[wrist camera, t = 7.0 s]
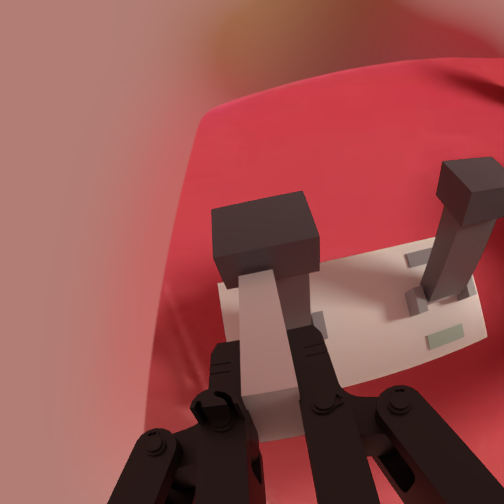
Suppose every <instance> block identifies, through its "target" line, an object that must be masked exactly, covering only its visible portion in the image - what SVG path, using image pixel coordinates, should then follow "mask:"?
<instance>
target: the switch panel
mask: <svg viewBox="0 0 504 504" xmlns="http://www.w3.org/2000/svg"><path fill="white" fill-rule="evenodd" d="M434 240H435V237H433V238H428V239H424V240H420V241H415V242H411V243H407V244H402V245H398V246H394V247H389V248H385V249H380V250H376V251H371V252H367V253H362V254H358V255H353V256H349V257H344V258H339V259H335V260H330V261H325V262H320V271H318V272H313V273H309V282H310V310H311V325H312V324H313V325H314V326H315V327H316V328H317V329H318V330H319V331H321V333H322V336H323V339H324V341H325V344H326V347H327V350H328V353H329V356H330V359H331V361H332V364H333V367H334V370H335V373H336V376H337V379H338V382H339V384H340V386H341V388H344V387H348V386H352V385H356V384H359V383H363V382H367V381H370V380H374V379H377V378H380V377H384V376H387V375H390V374H393V373H397V372H400V371H403V370H406V369H409V368H412V367H415V366H417V365H420V364H423V363H426V362H429V361H431V360H434V359H437V358H439V357H442V356H444V355H447V354H450V353H452V352H454V351H457V350H459V349H462V348H464V347H466V346H469V345H471V344H473V343H476V342H478V341H480V340H482V339H484V338H487V332H486V327H485V322H484V317H483V313H482V308H481V304H480V300H479V296H478V292H477V288H476V285H475V281H474V277H473V274H472V276H471V278H470V280H469V282H468V284H467V286H466V288H465V290H464V291H462V292H459V293H456V294H453V295H450V296H447V297H444V298H441V299H438V300H435V301H432V302H428V300H427V298H426V296H425V294H424V291H423V287H422V285H421V286H420V282H421V279H422V277H423V274H424V271H425V268H426V265H427V262H428V259H429V256H430V253H431V250H432V247H433V244H434ZM217 284H218V290H219V297H220V304H221V311H222V317H223V324H224V330H225V336H226V342H230V341H236V340H240V329H239V289H238V288H233V289H228V290H227V289H226V286H225V284H224V282H221V283H217Z"/></svg>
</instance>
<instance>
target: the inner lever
mask: <svg viewBox="0 0 504 504" xmlns="http://www.w3.org/2000/svg"><path fill="white" fill-rule="evenodd" d="M436 196H437V197H438V198H439V199H440V200H441V202H442V203H443V204H444V208H443V212H442V216H441V220H440V223H439V227H438V230H437V234H436V237H435V240H434V244H433V247H432V250H431V253H430V256H429V259H428V262H427V265H426V268H425V271H424V274H423V277H422V279H421V282H420V286H421V285H422V287H423V291H424V294H425V296H426V298H427V300H428V302H432V301H435V300H438V299H441V298H444V297H447V296H450V295H453V294H456V293H459V292H462V291H464V290H465V288H466V286H467V284H468V282H469V280H470V278H471V276H472V274H473V272H474V270H475V268H476V266H477V264H478V262H479V260H480V258H481V255H482V253H483V251H484V249H485V247H486V244H487V242H488V240H489V237H490V235H491V232H492V230H493V228H494V225H495V222H496V220H497V218H501V217H504V168H503V167H502V166H501V165H500V164H499V163H498V162H497V161H496V160H495V159H494V158H492V157H482V158H470V159H460V160H450V161H442V166H441V172H440V177H439V182H438V187H437V192H436Z"/></svg>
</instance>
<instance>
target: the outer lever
mask: <svg viewBox="0 0 504 504" xmlns="http://www.w3.org/2000/svg"><path fill="white" fill-rule="evenodd" d="M211 214H212V243H213V259H214V261H215V263H216V266H217V268H218V270H219V273H220V275H221V277H222V280H223V282H224V284H225V286H226V289H227V290H228V289H233V288H238V289H239V280H238V276H242V275H247V274H252V273H257V272H262V271H266V270H271V269H273V273H274V278H275V282H276V287H277V291H278V296H279V300H280V305H281V309H282V314H283V318H284V323H285V328H286V330H289V329H294V328H299V327H303V326H308V325H311V310H310V282H309V273H313V272H318V271H320V236H319V233H318V231H317V228H316V225H315V222H314V220H313V217H312V214H311V211H310V209H309V206H308V203H307V201H306V198H305V195H304V193H303V191H298V192H293V193H288V194H283V195H278V196H273V197H268V198H263V199H258V200H253V201H248V202H244V203H239V204H234V205H230V206H225V207H221V208H216V209H212V210H211Z"/></svg>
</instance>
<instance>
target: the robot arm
mask: <svg viewBox="0 0 504 504" xmlns="http://www.w3.org/2000/svg"><path fill="white" fill-rule="evenodd" d="M238 280H239V329H240V340H236V341H230V342H224V343H218V344H217V345H216V347H215V349H214V350H213V352H212V354H211V363H210V365H211V367H210V377H209V389H208V390H205V391H203V392H202V393H200V394H198V395H197V396H196V397H195V399H194V400H193V401H192V403H191V406H190V410H191V411H192V413H193V414H194V416H195V418H196V419H197V421H198V423H197V424H196V425H194V426H192V427H190V428H188V429H185V430H182V431H180V432H177V433H174V434H172V433H171V432H170V431H168V430H165V429H163V428H155V429H152V430H149V431H147V432H145V433H144V434H142V435H141V436H140V438H139V439H138V440H137V442H136V444H135V446H134V448H133V450H132V452H131V455H130V456H129V459H128V461H127V463H126V465H125V467H124V469H123V471H122V473H121V475H120V478H119V480H118V482H117V484H116V486H115V488H114V490H113V492H112V495H111V497H110V499H109V501H108V503H107V504H266V495H265V484H264V473H263V461H262V455H261V452H260V450H259V441H260V442H267V441H274V440H280V439H286V438H291V437H297V436H302V435H305V438H306V443H307V448H308V454H309V459H310V464H311V470H312V475H313V481H314V486H315V492H316V498H317V503H318V504H380V501H379V497H378V494H377V490H376V487H375V483H374V480H373V477H372V473H371V470H370V467H369V463H368V460H367V457H366V456H372V457H373V459H374V460H375V462H376V463H377V465H378V466H379V468H380V469H381V471H382V472H383V473H384V475H385V476H386V478H387V479H388V481H389V482H390V484H391V485H392V487H393V488H394V490H395V491H396V492H397V494H398V495H399V497H400V498H401V500H402V501H403V503H404V504H504V488H503V486H502V485H501V484H500V483H499V482H498V481H497V479H496V478H495V477H494V476H493V475H492V474H491V473H490V471H489V470H488V469H487V468H486V467H485V466H484V465H483V463H482V462H481V461H480V460H479V459H478V458H477V457H476V455H475V454H474V453H473V452H472V451H471V450H470V449H469V448H468V446H467V445H466V444H465V443H464V442H463V441H462V440H461V439H460V437H459V436H458V435H457V434H456V433H455V432H454V431H453V430H452V429H451V427H450V426H449V425H448V424H447V423H446V422H445V421H444V420H443V419H442V418H441V416H440V415H439V414H438V413H437V412H436V411H435V410H434V409H433V408H432V407H431V406H430V404H429V403H428V402H427V401H426V400H425V399H424V398H423V397H422V396H421V395H420V394H419V393H418V392H417V391H416V390H414V389H413V388H411V387H408V386H404V385H401V386H393V387H390V388H388V389H386V390H385V391H384V392H382V393H381V394H380V396H379V397H357V396H354V395H350V394H349V393H347V392H345V391H344V390H343V389H342V388H341V386H340V384H339V382H338V379H337V376H336V373H335V370H334V367H333V364H332V361H331V359H330V356H329V353H328V350H327V347H326V344H325V341H324V339H323V336H322V333H321V331H319V330H318V329H317V328H316V327H315V326H314V325H313V324H312V325H308V326H303V327H299V328H294V329H289V330H286V328H285V323H284V318H283V314H282V309H281V305H280V300H279V296H278V291H277V287H276V282H275V278H274V273H273V269H271V270H266V271H262V272H257V273H252V274H247V275H242V276H238ZM258 438H259V441H258Z"/></svg>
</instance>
